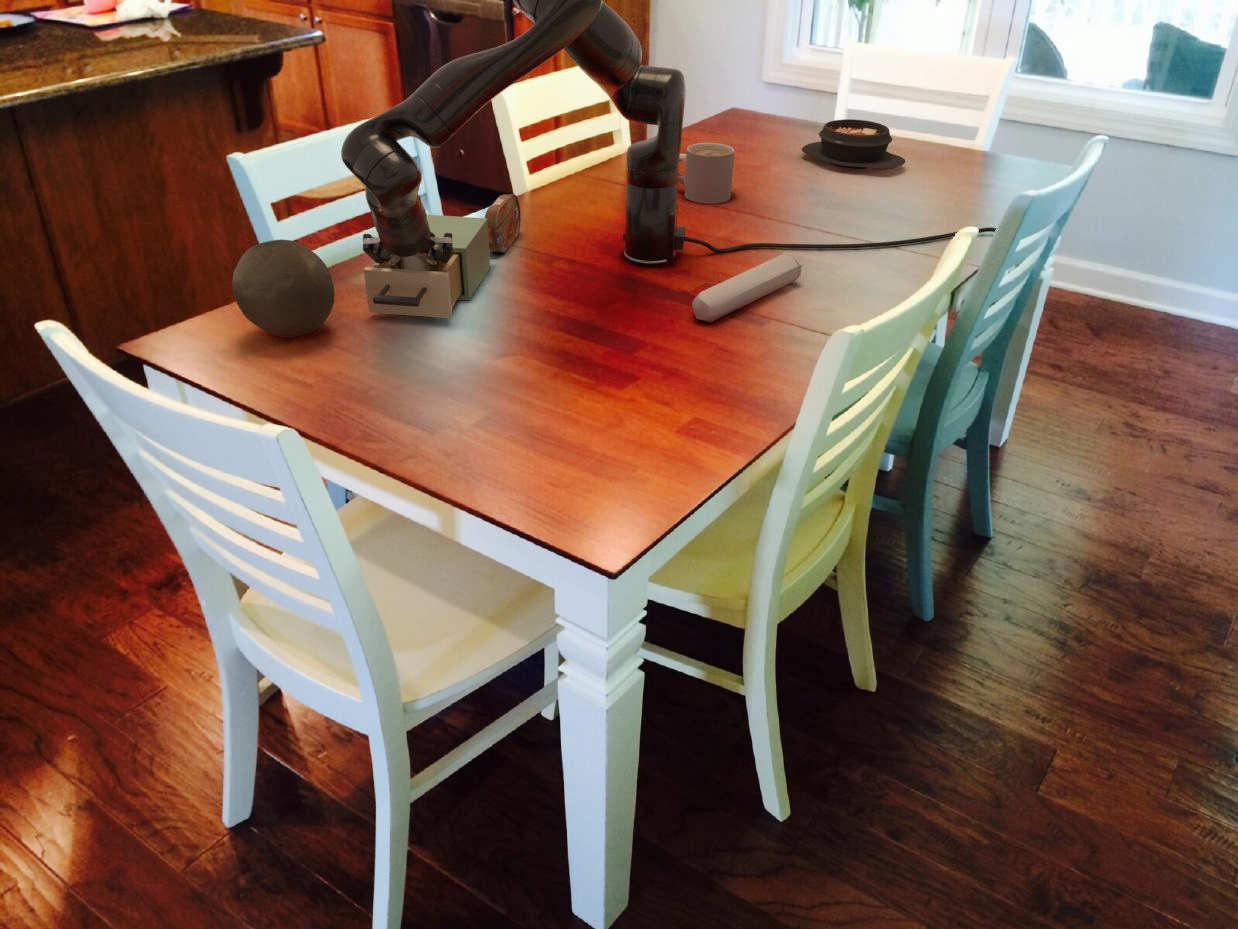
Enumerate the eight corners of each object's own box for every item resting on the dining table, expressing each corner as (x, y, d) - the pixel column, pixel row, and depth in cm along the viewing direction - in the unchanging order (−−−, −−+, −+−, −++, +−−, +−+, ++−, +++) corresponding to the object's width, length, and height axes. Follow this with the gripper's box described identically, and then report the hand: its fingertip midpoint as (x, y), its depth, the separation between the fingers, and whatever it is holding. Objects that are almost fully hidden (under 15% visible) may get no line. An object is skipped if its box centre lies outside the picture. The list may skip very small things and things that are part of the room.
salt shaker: (431, 293, 162) (426, 234, 157) (425, 302, 160) (419, 243, 154) (410, 292, 163) (404, 233, 157) (403, 300, 160) (396, 241, 154)
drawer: (440, 333, 152) (436, 289, 148) (356, 327, 154) (350, 283, 150) (472, 285, 168) (469, 244, 164) (396, 279, 170) (391, 239, 166)
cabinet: (469, 300, 165) (465, 248, 160) (385, 294, 167) (378, 242, 162) (490, 267, 177) (487, 218, 172) (411, 262, 179) (406, 213, 174)
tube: (715, 307, 155) (806, 263, 170) (691, 287, 157) (783, 246, 172) (705, 333, 159) (795, 287, 174) (681, 313, 161) (772, 270, 176)
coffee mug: (738, 194, 214) (742, 147, 208) (716, 206, 207) (720, 158, 201) (684, 183, 220) (687, 137, 214) (662, 194, 213) (663, 147, 207)
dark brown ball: (263, 315, 159) (245, 225, 151) (350, 318, 159) (337, 227, 151) (231, 355, 147) (210, 260, 139) (325, 358, 147) (310, 262, 139)
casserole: (785, 161, 235) (789, 124, 231) (824, 145, 247) (828, 110, 243) (881, 183, 222) (887, 145, 218) (917, 164, 234) (924, 128, 230)
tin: (499, 259, 181) (497, 214, 176) (483, 257, 181) (480, 212, 177) (522, 231, 193) (521, 188, 188) (507, 229, 194) (505, 187, 189)
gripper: (350, 245, 143) (371, 289, 159) (450, 244, 144) (461, 288, 160) (350, 197, 144) (371, 246, 161) (450, 196, 145) (460, 245, 162)
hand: (416, 267), depth 160 cm, fingers open, 5 cm apart
